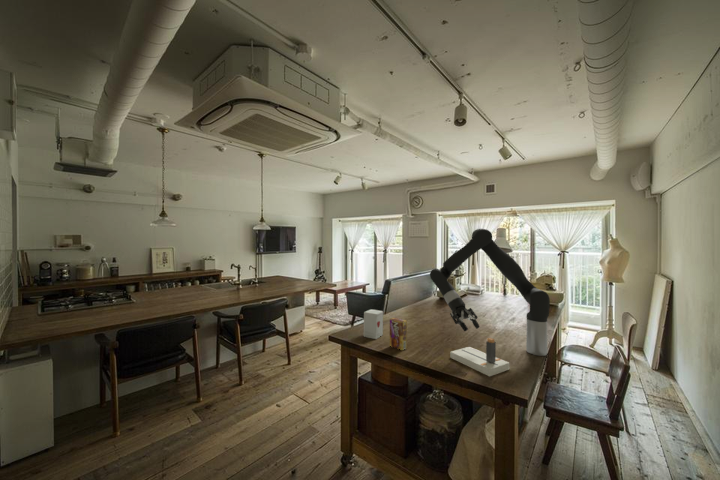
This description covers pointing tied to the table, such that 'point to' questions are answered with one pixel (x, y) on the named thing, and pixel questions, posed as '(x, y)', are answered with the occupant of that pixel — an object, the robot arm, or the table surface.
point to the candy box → (398, 333)
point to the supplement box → (373, 324)
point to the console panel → (479, 361)
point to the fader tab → (490, 350)
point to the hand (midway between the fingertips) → (472, 329)
